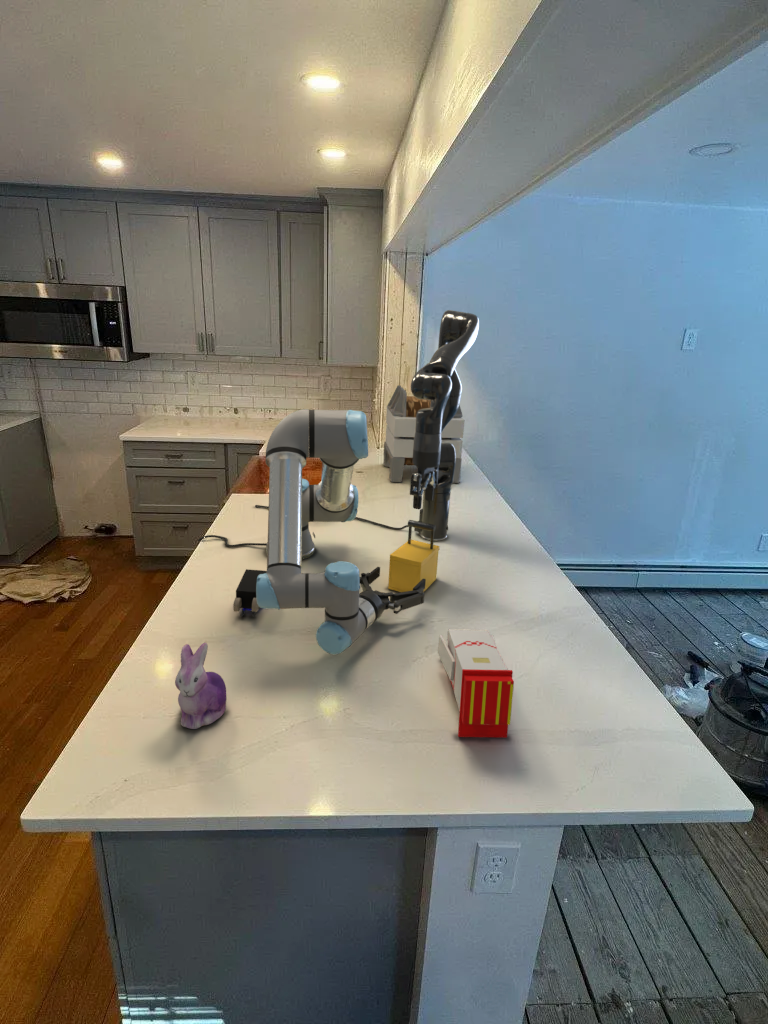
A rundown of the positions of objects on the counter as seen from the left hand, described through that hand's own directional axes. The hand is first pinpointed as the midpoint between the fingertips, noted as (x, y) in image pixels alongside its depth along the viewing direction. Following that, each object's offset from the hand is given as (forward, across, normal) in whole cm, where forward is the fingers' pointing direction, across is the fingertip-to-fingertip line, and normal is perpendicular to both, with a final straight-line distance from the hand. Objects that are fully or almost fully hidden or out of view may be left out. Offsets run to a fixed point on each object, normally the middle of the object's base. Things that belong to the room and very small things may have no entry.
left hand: (401, 577), depth 153 cm
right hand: (+14, -1, +17) cm, 22 cm away
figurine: (-62, -12, -6) cm, 63 cm away
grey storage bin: (+119, -46, -6) cm, 128 cm away
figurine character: (-25, -31, -6) cm, 40 cm away
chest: (+10, 0, -6) cm, 12 cm away
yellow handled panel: (+10, -1, +3) cm, 10 cm away
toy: (-29, +30, -6) cm, 42 cm away
